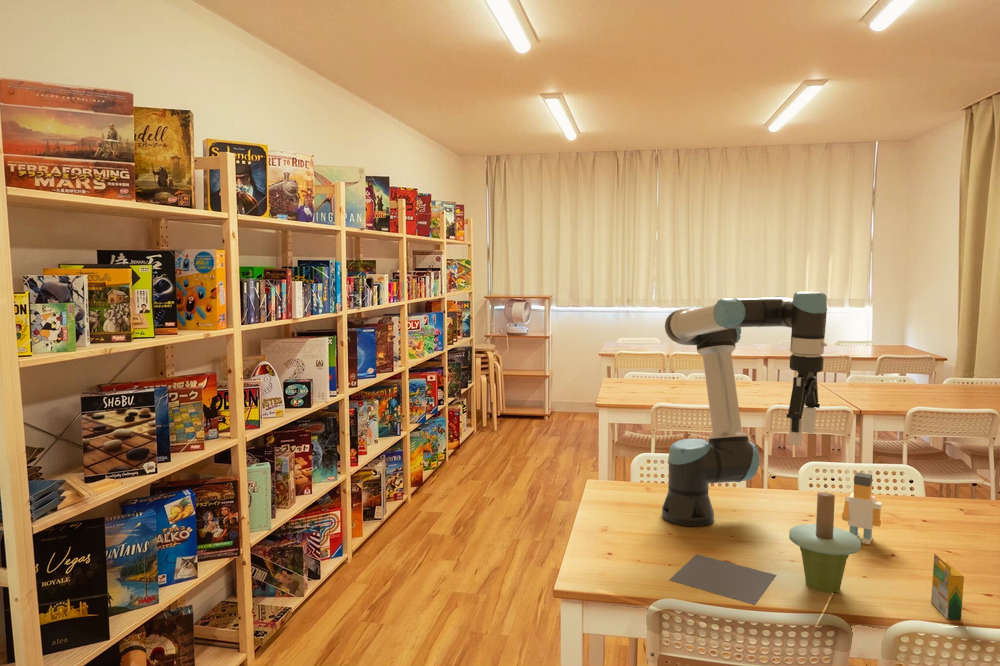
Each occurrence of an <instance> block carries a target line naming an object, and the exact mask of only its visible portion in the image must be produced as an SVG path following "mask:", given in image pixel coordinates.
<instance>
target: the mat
mask: <svg viewBox="0 0 1000 666" xmlns="http://www.w3.org/2000/svg"><path fill="white" fill-rule="evenodd" d="M776 577H777V574H776V573H775V574H774V573H771V572H766V571H762V570H759V569H755V568H751V567H747V566H743V565H740V564H736V563H731V562H729V561H723V560H721V559H716V558H713V557H709V556H705V555H700V554H698V553H697V554H695V555H694V556H693V557H692V558H690V560H688V561H687V563H685V565H683V566H682V567H681V568H680V569H679V570H677V572H676V573H675V574H674V575H673V576H672V577H671V578H670V579H669V581H670V582H673V583H677V584H681V585H685V586H688V587H691V588H695V589H698V590H701V591H705V592H708V593H712V594H715V595H718V596H721V597H725V598H728V599H733V600H735V601H739V602H742V603H746V604H749V605H754V606H756V604H757V603H758V602H759V600H760V598H761V597H762V596H763V595H764V594H765V592H766V590H767V589H768V587H769V586H770V585H771V584H772V582H773V580H774V579H775V578H776Z"/></svg>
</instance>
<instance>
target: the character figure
mask: <svg viewBox="0 0 1000 666" xmlns="http://www.w3.org/2000/svg"><path fill="white" fill-rule="evenodd" d="M853 476H854V477H853V478H854V479H853V492H851V493H850V495H849V496H845V497H844V505H843V512H842V514H841V519H842V521H844V522H847V525H848V526H849V532H850V533H852V534H854V535H855V536H857V537H858V538H859V528H861V529H863V534H862V535H863V536H862V539H861V544H867V545H869V544H871V542H872V540H873V535H872V534H873V528H874V527H879V528H880V527H881V525H882V519H881V513H882V511H881V509H882V507H883V502H882V501H876V496H875V495H872V493H873V492H872V489H873V474H870V473H864V472H859V471H858V472H855V474H854V475H853Z"/></svg>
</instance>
